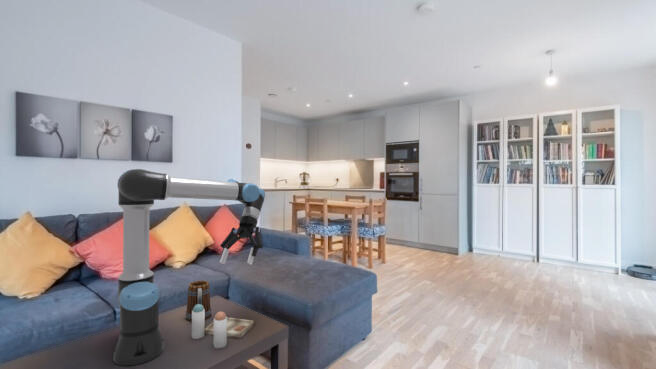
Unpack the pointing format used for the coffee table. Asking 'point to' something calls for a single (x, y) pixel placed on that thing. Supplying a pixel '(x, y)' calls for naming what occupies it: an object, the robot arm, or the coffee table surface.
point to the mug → (198, 298)
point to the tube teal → (198, 321)
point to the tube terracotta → (220, 330)
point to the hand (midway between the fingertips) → (235, 263)
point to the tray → (233, 327)
